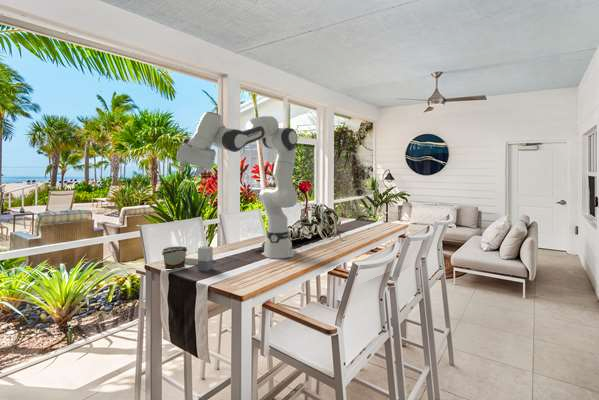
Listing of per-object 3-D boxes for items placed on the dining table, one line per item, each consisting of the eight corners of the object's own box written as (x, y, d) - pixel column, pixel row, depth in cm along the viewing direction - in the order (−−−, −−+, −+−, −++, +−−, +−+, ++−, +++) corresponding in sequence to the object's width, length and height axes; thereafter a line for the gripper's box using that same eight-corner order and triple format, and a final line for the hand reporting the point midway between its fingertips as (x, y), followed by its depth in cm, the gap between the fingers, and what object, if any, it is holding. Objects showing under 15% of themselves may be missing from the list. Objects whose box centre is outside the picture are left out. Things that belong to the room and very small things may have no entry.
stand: (194, 258, 191) (194, 252, 191) (212, 259, 188) (212, 254, 188) (182, 263, 181) (182, 257, 180) (201, 265, 178) (201, 259, 177)
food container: (181, 264, 179) (181, 245, 178) (187, 266, 174) (187, 247, 174) (157, 268, 170) (157, 248, 169) (163, 271, 166) (162, 250, 165)
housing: (203, 267, 173) (203, 246, 172) (212, 268, 171) (212, 246, 170) (198, 270, 168) (197, 248, 167) (207, 271, 167) (207, 249, 166)
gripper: (221, 153, 153) (209, 181, 152) (190, 144, 163) (178, 171, 162) (212, 147, 148) (199, 177, 147) (180, 138, 158) (168, 166, 157)
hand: (188, 174), depth 154 cm, fingers open, 8 cm apart
